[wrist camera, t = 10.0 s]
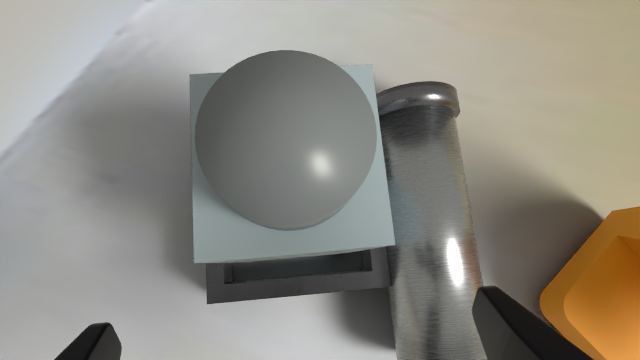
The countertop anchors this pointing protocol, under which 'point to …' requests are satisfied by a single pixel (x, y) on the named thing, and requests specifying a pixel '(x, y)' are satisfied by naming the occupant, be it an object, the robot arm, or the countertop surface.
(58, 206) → the countertop surface
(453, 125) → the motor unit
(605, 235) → the bracket
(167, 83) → the countertop surface
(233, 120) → the grey capped bottle
